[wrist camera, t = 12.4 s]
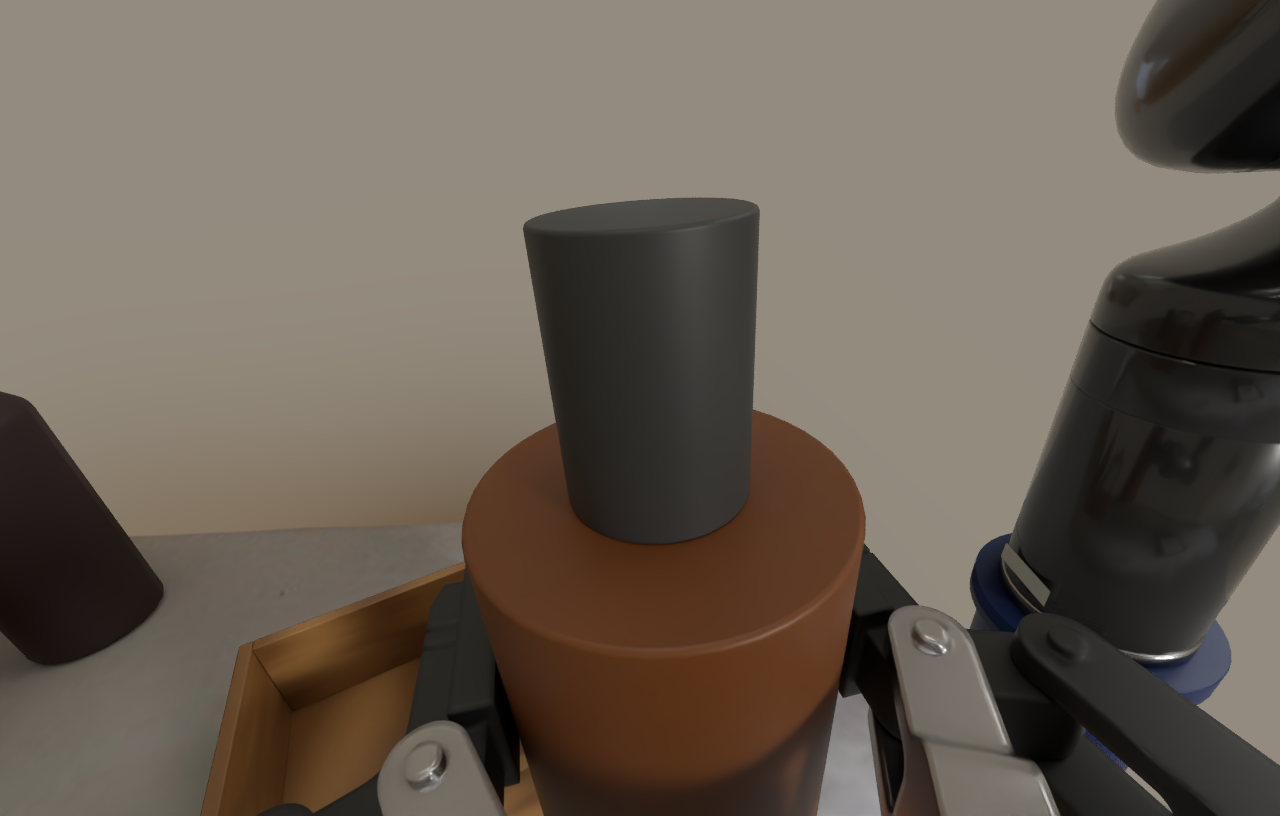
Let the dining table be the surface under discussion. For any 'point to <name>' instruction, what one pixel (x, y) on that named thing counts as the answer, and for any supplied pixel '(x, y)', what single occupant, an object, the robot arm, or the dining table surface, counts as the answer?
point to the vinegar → (61, 549)
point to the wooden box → (329, 706)
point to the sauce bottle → (663, 533)
